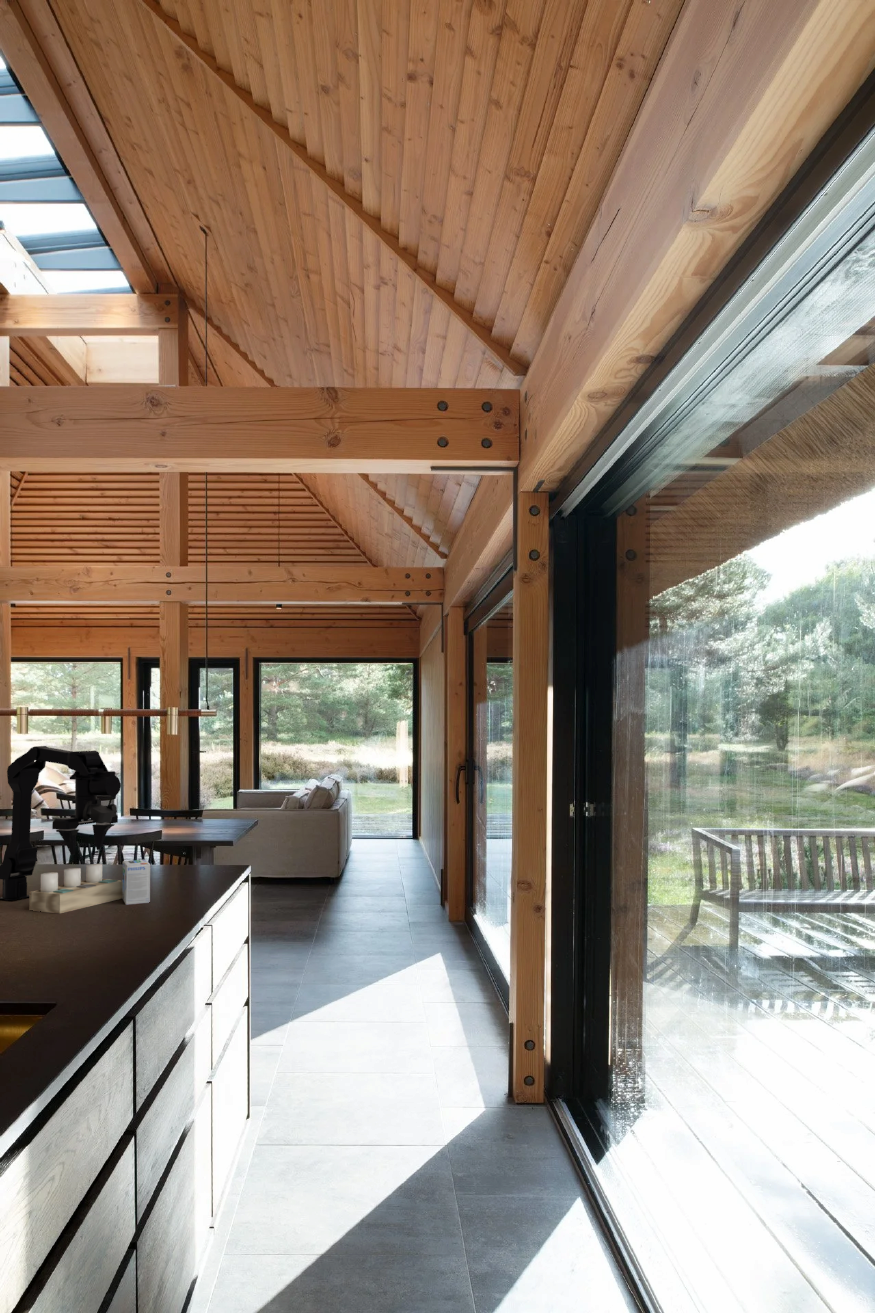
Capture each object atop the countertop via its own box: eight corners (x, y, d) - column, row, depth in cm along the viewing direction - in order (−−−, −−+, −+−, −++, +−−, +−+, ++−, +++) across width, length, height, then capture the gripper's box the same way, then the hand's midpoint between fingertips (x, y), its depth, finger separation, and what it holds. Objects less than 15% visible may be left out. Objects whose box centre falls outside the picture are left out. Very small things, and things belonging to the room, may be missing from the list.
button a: (36, 900, 252) (37, 874, 253) (49, 897, 256) (50, 872, 257) (48, 901, 250) (48, 875, 251) (61, 898, 254) (61, 873, 255)
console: (29, 910, 251) (29, 890, 252) (94, 895, 272) (94, 877, 272) (59, 913, 246) (60, 893, 247) (123, 898, 267) (123, 879, 267)
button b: (60, 895, 259) (60, 870, 260) (72, 892, 263) (72, 867, 264) (71, 896, 257) (71, 870, 258) (84, 893, 261) (84, 868, 262)
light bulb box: (121, 898, 266) (121, 860, 267) (145, 896, 269) (146, 859, 270) (125, 905, 257) (126, 865, 258) (151, 902, 260) (151, 863, 260)
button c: (82, 890, 267) (82, 865, 267) (94, 887, 271) (94, 863, 271) (93, 891, 265) (94, 866, 265) (105, 888, 269) (105, 864, 269)
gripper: (80, 799, 247) (80, 858, 246) (132, 793, 264) (132, 849, 262) (51, 798, 252) (50, 856, 251) (103, 793, 268) (103, 847, 267)
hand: (85, 852), depth 258 cm, fingers open, 9 cm apart
